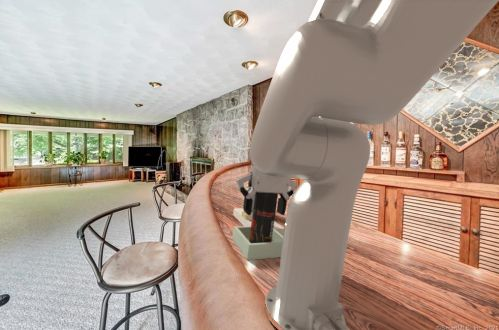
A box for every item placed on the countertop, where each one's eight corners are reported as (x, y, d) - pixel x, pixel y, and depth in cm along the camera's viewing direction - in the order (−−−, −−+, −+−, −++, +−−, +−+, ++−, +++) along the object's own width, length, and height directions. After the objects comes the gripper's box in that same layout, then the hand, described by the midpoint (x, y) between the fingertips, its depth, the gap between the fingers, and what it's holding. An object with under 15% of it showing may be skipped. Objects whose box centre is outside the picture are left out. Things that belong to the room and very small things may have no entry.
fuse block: (283, 236, 68) (289, 197, 67) (254, 237, 64) (259, 196, 63) (256, 214, 87) (260, 184, 87) (233, 214, 84) (237, 183, 83)
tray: (289, 256, 55) (291, 242, 55) (246, 259, 51) (248, 245, 50) (268, 237, 66) (270, 225, 66) (232, 238, 61) (233, 226, 61)
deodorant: (269, 252, 55) (277, 193, 54) (246, 247, 56) (253, 189, 55) (271, 243, 60) (279, 189, 59) (251, 238, 61) (257, 186, 61)
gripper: (246, 144, 49) (238, 218, 50) (308, 152, 56) (300, 217, 57) (236, 144, 56) (228, 209, 57) (292, 151, 63) (285, 209, 64)
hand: (264, 213), depth 57 cm, fingers open, 9 cm apart
